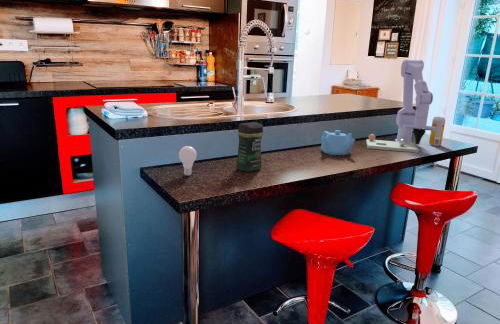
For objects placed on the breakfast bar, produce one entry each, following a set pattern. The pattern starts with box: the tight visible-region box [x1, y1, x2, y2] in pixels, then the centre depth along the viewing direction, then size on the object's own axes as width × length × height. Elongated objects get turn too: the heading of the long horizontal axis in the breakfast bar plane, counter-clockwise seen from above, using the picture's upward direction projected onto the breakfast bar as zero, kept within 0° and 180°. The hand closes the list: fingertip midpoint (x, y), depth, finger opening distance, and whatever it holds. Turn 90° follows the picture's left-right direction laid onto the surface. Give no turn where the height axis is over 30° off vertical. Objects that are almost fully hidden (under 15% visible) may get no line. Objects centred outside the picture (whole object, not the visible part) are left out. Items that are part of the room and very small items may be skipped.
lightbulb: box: [178, 145, 198, 177], centre depth 139 cm, size 6×6×11 cm
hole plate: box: [365, 138, 419, 154], centre depth 200 cm, size 16×24×2 cm, turn 76°
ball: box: [368, 133, 376, 141], centre depth 206 cm, size 4×4×4 cm
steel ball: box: [399, 139, 406, 146], centre depth 196 cm, size 4×4×4 cm
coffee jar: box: [235, 121, 264, 173], centre depth 149 cm, size 10×8×19 cm
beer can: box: [428, 116, 446, 147], centre depth 207 cm, size 6×6×15 cm
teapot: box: [320, 129, 356, 157], centre depth 182 cm, size 15×15×11 cm
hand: (417, 143), depth 194 cm, fingers closed
